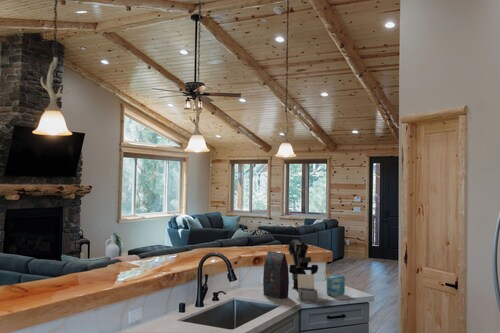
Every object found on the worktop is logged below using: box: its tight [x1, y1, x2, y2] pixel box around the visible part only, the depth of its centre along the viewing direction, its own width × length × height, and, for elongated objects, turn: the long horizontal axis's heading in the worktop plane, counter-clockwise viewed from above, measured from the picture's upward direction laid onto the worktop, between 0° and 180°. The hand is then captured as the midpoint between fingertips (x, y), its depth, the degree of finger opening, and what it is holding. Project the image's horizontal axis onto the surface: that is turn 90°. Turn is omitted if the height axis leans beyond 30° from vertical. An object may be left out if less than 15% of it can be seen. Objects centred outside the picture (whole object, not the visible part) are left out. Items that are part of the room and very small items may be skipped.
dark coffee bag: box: [262, 250, 290, 300], centre depth 289 cm, size 8×16×28 cm, turn 41°
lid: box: [298, 273, 315, 289], centre depth 286 cm, size 8×10×1 cm
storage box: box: [298, 287, 318, 302], centre depth 280 cm, size 8×10×6 cm
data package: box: [326, 274, 346, 297], centre depth 294 cm, size 12×4×12 cm, turn 124°
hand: (305, 279), depth 288 cm, fingers open, 9 cm apart
